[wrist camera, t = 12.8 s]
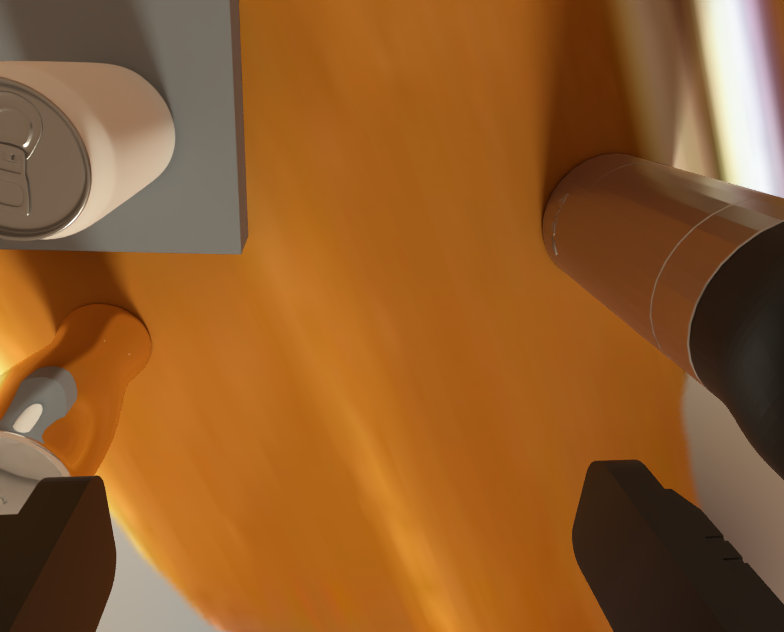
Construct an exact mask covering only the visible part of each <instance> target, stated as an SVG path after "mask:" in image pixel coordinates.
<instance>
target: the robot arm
mask: <svg viewBox="0 0 784 632" xmlns="http://www.w3.org/2000/svg"><path fill="white" fill-rule="evenodd" d="M542 232H543V239H544V244H545V247H546V249H547V252H548V254H549V256H550V257H551V259H552V260H553V262H554V263H555V264H556V265H557V266H558V267H559V268H561V269H562V270H563V271H564V272H565V273H566V274H568V275H569V276H570V277H571V278H572V279H574V280H575V281H576V282H577V283H578V284H580V285H581V286H582V287H583V288H584V289H585V290H586V291H588V292H589V293H590V294H591V295H593V296H594V297H595V298H596V299H597V300H599V301H600V302H601V303H602V304H604V305H605V306H606V307H607V308H608V309H610V310H611V311H612V312H613V313H615V314H616V315H617V316H618V317H619V318H621V319H622V320H623V321H624V322H626V323H627V324H628V325H629V326H630V327H632V328H633V329H634V330H635V331H636V332H638V333H639V334H640V335H641V336H643V337H644V338H645V339H646V340H647V341H649V342H650V343H651V344H652V345H654V346H655V347H656V348H657V349H658V350H660V351H661V352H662V353H663V354H665V355H666V356H667V357H668V358H670V359H671V360H672V361H673V362H675V363H676V364H677V365H678V366H680V367H681V368H682V369H683V370H684V371H686V372H687V373H688V374H689V375H691V376H692V377H693V378H694V379H696V380H697V381H698V382H699V383H700V384H702V385H703V386H704V387H706V388H707V389H708V390H709V391H710V392H711V393H713V394H714V395H715V396H716V397H717V398H719V399H720V400H721V401H722V402H723V403H724V404H725V405H726V407H727V408H728V409H729V411H730V412H731V414H732V415H733V417H734V418H735V420H736V422H737V424H738V425H739V427H740V428H741V430H742V432H743V433H744V435H745V436H746V438H747V439H748V441H749V442H750V444H751V445H752V446H753V447H754V448H755V450H756V451H757V453H758V454H759V455H760V456H761V457H762V458H763V460H764V461H766V463H767V464H768V465H769V466H770V467H771V468H772V469H773V470H774V471H775V472H776V473H777V474H778V475H779V476H780V477H781V478H782V479H783V480H784V198H780V197H777V196H773V195H769V194H766V193H762V192H759V191H755V190H752V189H748V188H745V187H741V186H737V185H734V184H730V183H727V182H723V181H720V180H716V179H713V178H709V177H705V176H702V175H698V174H695V173H691V172H688V171H684V170H681V169H677V168H673V167H670V166H666V165H664V164H660V163H657V162H653V161H649V160H646V159H642V158H638V157H635V156H631V155H628V154H617V153H611V154H605V155H599V156H596V157H594V158H591V159H589V160H586V161H584V162H583V163H581V164H580V165H578V166H577V167H575V168H573V169H572V170H571V171H570V172H569V173H568V174H567V175H566V176H565V177H564V178H563V179H562V180H561V181H560V183H559V184H558V185H557V187H556V188H555V189H554V191H553V193H552V195H551V197H550V199H549V201H548V203H547V206H546V209H545V213H544V217H543V229H542ZM572 542H573V549H574V554H575V557H576V560H577V563H578V565H579V567H580V569H581V571H582V573H583V575H584V577H585V579H586V580H587V582H588V584H589V586H590V588H591V590H592V592H593V594H594V595H595V597H596V599H597V601H598V603H599V605H600V607H601V609H602V611H603V612H604V614H605V616H606V618H607V620H608V622H609V624H610V626H611V627H612V629H613V631H614V632H784V604H783V603H782V602H781V601H780V600H779V599H778V597H777V596H776V595H775V594H774V593H773V592H772V591H771V589H770V588H769V587H768V586H767V585H766V584H765V583H764V581H763V580H762V579H761V578H760V577H759V576H758V575H757V574H756V572H755V571H754V570H753V569H752V568H751V567H750V565H749V564H748V563H744V562H743V560H742V556H741V555H740V554H739V553H738V552H737V551H736V549H735V548H734V547H733V546H732V545H731V544H730V543H729V541H724V538H723V535H722V533H721V532H720V531H719V530H718V529H717V528H716V527H715V526H714V524H713V523H712V522H711V521H710V520H709V518H708V517H707V516H706V515H705V514H704V513H703V512H702V510H700V509H699V508H698V507H696V506H695V505H693V504H692V503H690V502H689V501H688V500H686V499H685V498H683V497H682V496H681V495H679V494H678V493H676V492H675V491H673V490H672V489H664V488H663V486H662V485H661V484H660V483H659V482H658V480H657V479H656V478H655V477H654V476H653V474H652V473H651V472H650V471H649V470H648V468H647V467H646V466H645V465H644V464H643V463H642V462H640V461H638V460H608V461H594V462H592V463H591V464H590V466H589V468H588V470H587V473H586V477H585V481H584V485H583V489H582V493H581V497H580V501H579V505H578V509H577V513H576V517H575V521H574V525H573V530H572ZM115 569H116V548H115V541H114V537H113V530H112V525H111V519H110V513H109V508H108V502H107V497H106V491H105V486H104V483H103V480H102V478H101V477H100V476H71V477H46V478H44V479H42V480H41V481H40V482H39V483H38V484H37V485H36V487H35V488H34V490H33V491H32V493H31V494H30V496H29V498H28V499H27V501H26V502H25V504H24V505H23V507H22V508H21V510H20V511H19V513H18V514H6V515H0V632H96V629H97V626H98V624H99V621H100V618H101V616H102V613H103V611H104V608H105V606H106V603H107V600H108V598H109V595H110V592H111V589H112V586H113V581H114V576H115Z"/></svg>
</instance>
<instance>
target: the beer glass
mask: <svg viewBox="0 0 784 632" xmlns="http://www.w3.org/2000/svg"><path fill="white" fill-rule="evenodd" d="M150 356H151V339H150V336H149V333H148V331H147V329H146V328H145V326H144V325H143V324H142V323H141V321H140V320H139V319H138V318H136V317H135V316H134V315H133V314H131V313H130V312H128V311H126V310H124V309H122V308H120V307H117V306H113V305H108V304H91V305H86V306H83V307H80V308H78V309H76V310H74V311H73V312H71V313H70V314H69V315H68V316H67V317H66V318H65V319H64V320H63V322H62V323H61V325H60V327H59V329H58V331H57V333H56V335H55V338H54V339H53V341H52V342H51V343H50V344H49V345H47V346H46V347H44V348H43V349H41V350H39V351H38V352H36V353H34V354H32V355H31V356H29V357H27V358H26V359H24V360H22V361H21V362H19V363H17V364H16V365H14V366H12V367H11V368H10V369H8V370H7V371H5V372H4V373H2V374H1V375H0V515H6V514H18V513H19V511H20V510H21V508H22V507H23V505H24V504H25V502H26V501H27V499H28V498H29V496H30V494H31V493H32V491H33V490H34V488H35V487H36V485H37V484H38V483H39V482H40V481H41V480H42V479H44V478H46V477H71V476H94V475H95V473H96V472H97V470H98V468H99V467H100V465H101V463H102V462H103V460H104V458H105V456H106V454H107V451H108V449H109V447H110V445H111V443H112V441H113V438H114V435H115V432H116V428H117V425H118V422H119V418H120V414H121V409H122V405H123V400H124V395H125V392H126V388H127V386H128V384H129V383H130V382H131V381H132V380H133V379H134V378H135V377H136V376H137V375H138V374H139V373H140V372H141V371H142V370H143V369H144V368H145V366H146V365H147V363H148V361H149V359H150Z"/></svg>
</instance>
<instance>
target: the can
mask: <svg viewBox="0 0 784 632" xmlns="http://www.w3.org/2000/svg"><path fill="white" fill-rule="evenodd" d="M174 146H175V128H174V123H173V119H172V116H171V113H170V111H169V109H168V107H167V105H166V103H165V101H164V100H163V98H162V97H161V95H160V94H159V93H158V92H157V90H156V89H155V88H154V87H153V86H152V85H151V84H150V83H149V82H148V81H146V80H145V79H144V78H143V77H141V76H140V75H139V74H137V73H135V72H134V71H132V70H129V69H127V68H124V67H121V66H117V65H112V64H105V63H90V62H53V61H0V238H1V239H6V240H14V241H31V240H39V239H56V238H62V237H66V236H69V235H72V234H75V233H77V232H80V231H82V230H84V229H86V228H87V227H89V226H91V225H92V224H94V223H95V222H97V221H98V220H100V219H101V218H103V217H104V216H106V215H107V214H108V213H110V212H111V211H113V210H114V209H115V208H117V207H118V206H120V205H121V204H122V203H124V202H125V201H127V200H128V199H129V198H131V197H132V196H133V195H135V194H136V193H138V192H139V191H140V190H142V189H143V188H144V187H146V186H147V185H148V184H150V183H151V182H152V181H154V180H155V179H156V178H157V177H158V176H159V175H160V174H161V173H162V172H163V171H164V170H165V168H166V167H167V165H168V164H169V162H170V160H171V157H172V154H173V151H174Z"/></svg>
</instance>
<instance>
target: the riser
mask: <svg viewBox="0 0 784 632" xmlns="http://www.w3.org/2000/svg"><path fill="white" fill-rule="evenodd" d="M0 61H53V62H90V63H105V64H112V65H117V66H121V67H124V68H127V69H129V70H132V71H134V72H135V73H137V74H139V75H140V76H141V77H143V78H144V79H145V80H146V81H148V82H149V83H150V84H151V85H152V86H153V87H154V88H155V89H156V90H157V92H158V93H159V94H160V95H161V97H162V98H163V100H164V101H165V103H166V105H167V107H168V109H169V111H170V113H171V116H172V119H173V123H174V128H175V146H174V151H173V154H172V157H171V160H170V162H169V164H168V165H167V167H166V168H165V170H164V171H163V172H162V173H161V174H160V175H159V176H158V177H157V178H156V179H155V180H154V181H152V182H151V183H150V184H148V185H147V186H146V187H144V188H143V189H142V190H140V191H139V192H138V193H136V194H135V195H133V196H132V197H131V198H129V199H128V200H127V201H125V202H124V203H122V204H121V205H120V206H118V207H117V208H115V209H114V210H113V211H111V212H110V213H108V214H107V215H106V216H104V217H103V218H101V219H100V220H98V221H97V222H95V223H94V224H92V225H91V226H89V227H87V228H86V229H84V230H82V231H80V232H77V233H75V234H72V235H69V236H66V237H62V238H56V239H39V240H31V241H14V240H6V239H1V238H0V249H18V250H64V251H110V252H156V253H202V254H242V251H243V248H244V246H245V243H246V240H247V238H248V221H247V196H246V171H245V146H244V121H243V96H242V72H241V47H240V22H239V0H0Z"/></svg>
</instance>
